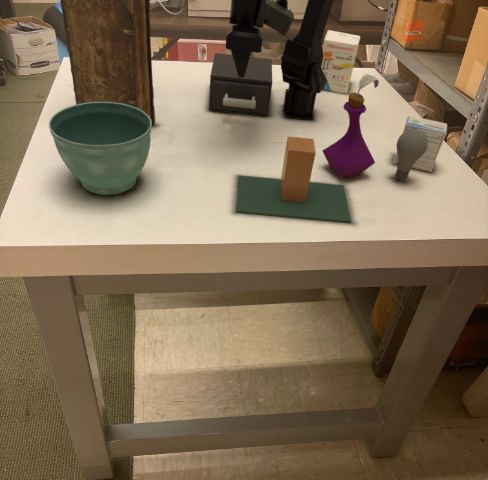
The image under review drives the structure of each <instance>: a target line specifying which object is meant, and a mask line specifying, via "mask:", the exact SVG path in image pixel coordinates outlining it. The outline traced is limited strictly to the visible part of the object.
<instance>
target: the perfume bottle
mask: <svg viewBox="0 0 488 480" xmlns="http://www.w3.org/2000/svg"><path fill="white" fill-rule="evenodd" d="M379 81H380V80H379V79H378V78H377V77H375V76H374V75H371V74H368V73H366V74H364V75H363V76H361V78H360V80H359V82H358V90H357V92H353V91H352V92H350V93H348V99H347V100H348V101H345V103H344V104H343V107H342V108H343V109H344V111H346V113H347V115H348V119H349V121H348V127H347V130H346V132H345V133H344V135H343V136H342V137H341V138H339V139H338V140H337V141H336V142H333V143H332V144H330V145H329V146H327V147H326V148H324V149H323V150H322V153H323V156H324V157H325V159H326V162H327V164H328V166H329V168H330V169H331V170H332V171H333V172H334V173H335V174H336V175H337V176H339V177H340V178H341V179H346V178H351V177H357V176H359V175H361V174H362V173H364V172H365V171H367V169H368V170H369V168H370V167H373V165H375V164H376V161H375V159H374V157H373V155H372V154H371V151H370V149H369V147H368V145H367V143H366V141H365V139H364V137H363V134H362V129H361V122H360V121H361V115H362V114H364V113H366V111H367V106H366V105H365V104H364V102H365V98H364V96H363V95H362V94H361V93H360V91H361V90H363V88H365V87H367V86H368V85H370V84H372V83H373V86H374V89H376V88H377V87H378V86H379V83H380V82H379Z"/></svg>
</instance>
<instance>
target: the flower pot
mask: <svg viewBox="0 0 488 480" xmlns="http://www.w3.org/2000/svg"><path fill="white" fill-rule="evenodd" d="M152 127H153V125H152V121H151V119H150V117H149V116H148V115H147V114H146V113H145V112H143V111H142V110H140V109H138V108H136V107H133V106H130V105H126V104H122V103H114V102H89V103H83V104H78V105H76V104H74V105H71V106H68V107H64V108H63V109H61V110H59V111H57V112H56V113H54V114H53V115H52V116H51V117H50V119H49V121H48V128H49V131H50V134H51V136H52V137H53V142H54V145H55V148H56V150H57V152H58V154H59V157H60V158H61V160H62V162H63V163H64V165H65V166H66V168H67V169H68V170H69V172H70V173H71V174H72V175H73V176H74V177H76V178H77V179H78V180H79V181H80V184H81V186H82V188H84V189H85V190H86V191H88V192H90V193H93V194H96V195H103V196H112V195H118V194H123V193H125V192H127V191H129V190H130V189H132V188H133V187H135V185H136V183H137V177H138V176H139V175H140V173H141V172H142V170H143V169H144V167H145V165H146V162H147V159H148V157H149V153H150V148H151V137H152V136H151V134H152V133H151V132H152Z"/></svg>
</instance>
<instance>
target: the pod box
mask: <svg viewBox="0 0 488 480" xmlns="http://www.w3.org/2000/svg"><path fill="white" fill-rule="evenodd" d="M316 154H317V152H316V146H315V139H314V138H307V137H297V136H287V138H286V145H285V151H284V158H283V163H282V170H281V176H280V179H281V182H280V198H281V200H283V201H294V202H304V203H305V202H306V198H307V193H308V188H309V183H310V182H311V178H312V173H313V167H314V163H315V158H316Z"/></svg>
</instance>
